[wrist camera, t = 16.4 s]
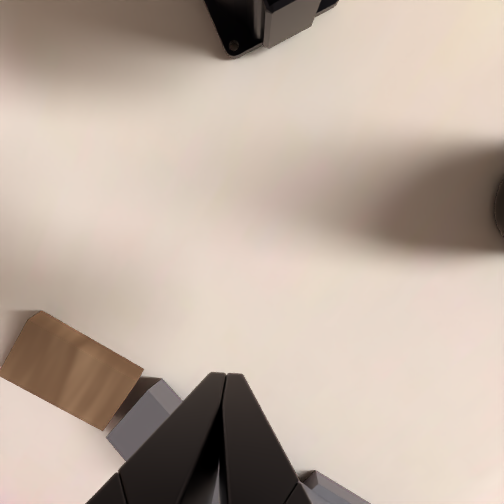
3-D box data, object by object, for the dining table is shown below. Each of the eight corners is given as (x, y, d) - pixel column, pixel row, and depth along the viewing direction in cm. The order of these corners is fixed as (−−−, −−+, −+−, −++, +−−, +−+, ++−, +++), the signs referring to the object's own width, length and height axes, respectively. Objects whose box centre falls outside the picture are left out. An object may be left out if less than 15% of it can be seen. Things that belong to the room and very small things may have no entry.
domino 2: (105, 437, 22) (184, 532, 20) (147, 390, 21) (233, 486, 19) (122, 422, 23) (196, 509, 22) (162, 378, 22) (241, 466, 21)
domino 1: (-3, 374, 21) (102, 431, 22) (27, 319, 20) (137, 381, 21) (17, 359, 23) (114, 412, 24) (46, 307, 22) (146, 365, 23)
